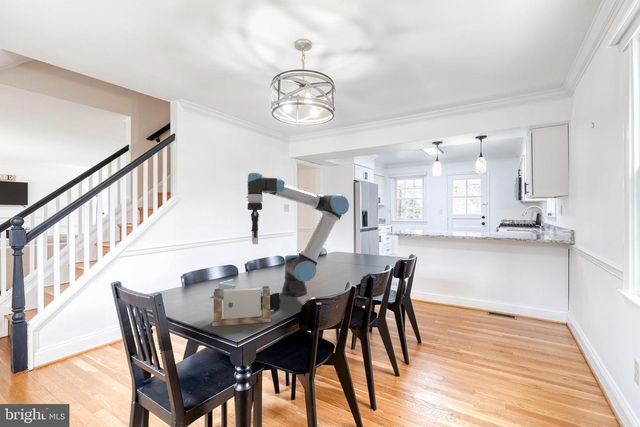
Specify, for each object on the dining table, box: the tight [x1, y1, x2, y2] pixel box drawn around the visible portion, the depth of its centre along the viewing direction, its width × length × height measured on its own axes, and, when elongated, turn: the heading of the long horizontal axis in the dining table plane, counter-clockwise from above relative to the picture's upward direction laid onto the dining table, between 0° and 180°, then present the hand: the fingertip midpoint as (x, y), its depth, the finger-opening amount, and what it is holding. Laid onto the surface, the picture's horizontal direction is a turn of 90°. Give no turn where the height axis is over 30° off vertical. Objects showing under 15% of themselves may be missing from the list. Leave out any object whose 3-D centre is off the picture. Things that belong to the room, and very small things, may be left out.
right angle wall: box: [217, 278, 236, 293], centre depth 184 cm, size 12×12×8 cm
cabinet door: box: [221, 286, 263, 319], centre depth 138 cm, size 22×5×12 cm, turn 103°
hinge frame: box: [211, 285, 272, 327], centre depth 138 cm, size 25×6×15 cm, turn 103°
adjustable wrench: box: [261, 292, 281, 312], centre depth 162 cm, size 8×3×25 cm
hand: (254, 242), depth 163 cm, fingers open, 13 cm apart
